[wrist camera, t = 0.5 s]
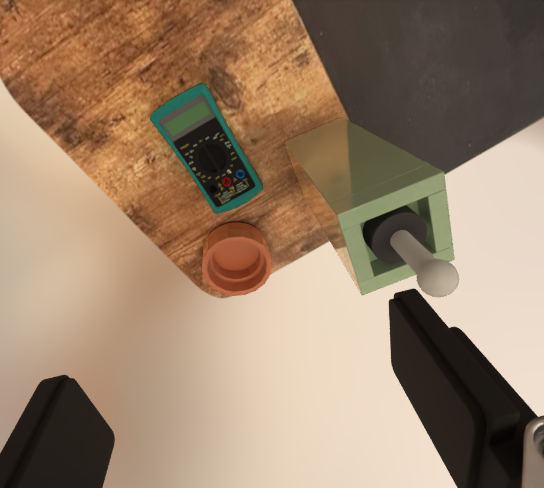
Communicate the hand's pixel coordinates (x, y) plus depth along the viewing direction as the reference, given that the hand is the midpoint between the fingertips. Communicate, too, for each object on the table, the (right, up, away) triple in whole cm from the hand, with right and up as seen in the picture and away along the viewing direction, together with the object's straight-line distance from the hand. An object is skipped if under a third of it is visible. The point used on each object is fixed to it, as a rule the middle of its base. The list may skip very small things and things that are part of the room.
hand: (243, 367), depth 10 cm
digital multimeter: (-7, +16, +34) cm, 38 cm away
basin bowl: (-4, +3, +41) cm, 41 cm away
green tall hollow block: (+7, +15, +36) cm, 40 cm away
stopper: (+10, +5, +18) cm, 21 cm away
